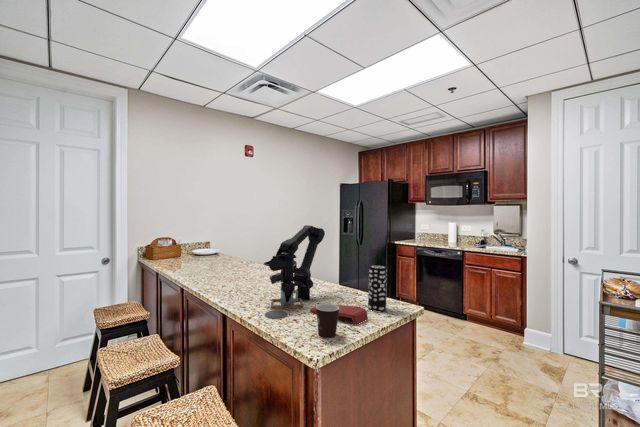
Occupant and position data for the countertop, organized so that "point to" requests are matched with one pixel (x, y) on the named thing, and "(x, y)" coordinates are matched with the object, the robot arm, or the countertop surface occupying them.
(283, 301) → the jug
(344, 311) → the carton
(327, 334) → the coffee mug
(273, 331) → the countertop surface
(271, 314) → the coaster
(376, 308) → the spotted tube
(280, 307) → the brown wooden frame
